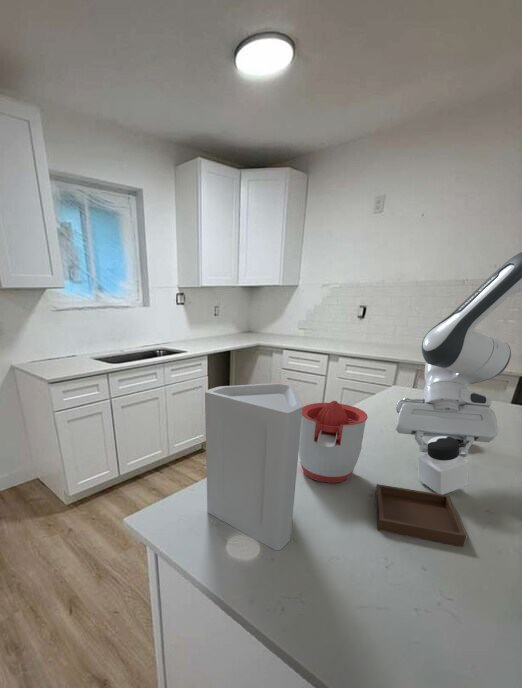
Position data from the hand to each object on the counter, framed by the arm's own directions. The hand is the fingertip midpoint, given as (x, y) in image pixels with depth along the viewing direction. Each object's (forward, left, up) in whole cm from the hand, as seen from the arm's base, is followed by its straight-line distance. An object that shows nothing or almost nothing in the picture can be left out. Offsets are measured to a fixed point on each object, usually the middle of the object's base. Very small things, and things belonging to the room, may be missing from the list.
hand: (443, 453), depth 84 cm
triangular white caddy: (+37, +25, -9) cm, 46 cm away
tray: (+6, +15, -9) cm, 19 cm away
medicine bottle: (-1, 0, -8) cm, 8 cm away
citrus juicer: (+25, +2, -9) cm, 27 cm away
